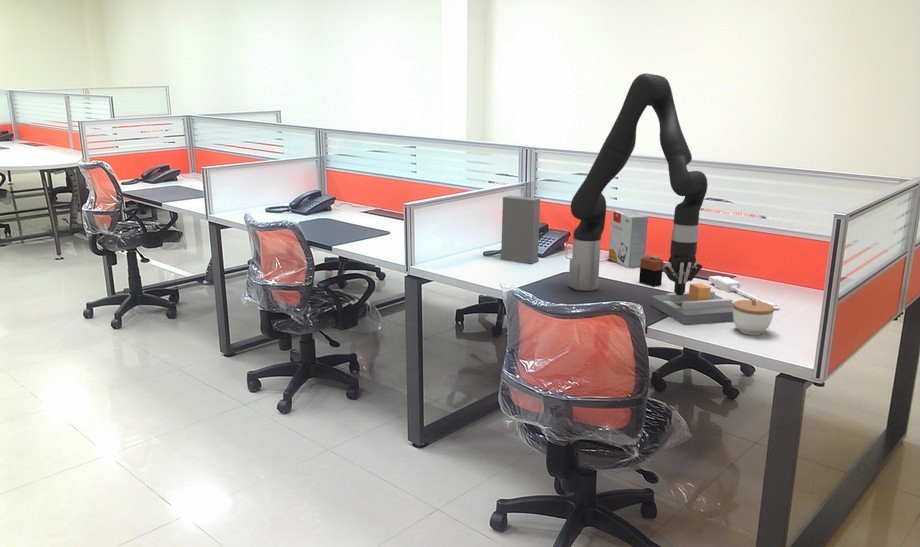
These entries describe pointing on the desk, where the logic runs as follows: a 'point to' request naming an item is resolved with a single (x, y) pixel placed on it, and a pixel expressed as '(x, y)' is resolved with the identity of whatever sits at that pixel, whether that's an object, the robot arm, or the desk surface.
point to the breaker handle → (699, 292)
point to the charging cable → (733, 287)
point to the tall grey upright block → (520, 229)
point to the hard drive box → (627, 237)
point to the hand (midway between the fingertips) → (679, 294)
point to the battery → (651, 270)
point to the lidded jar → (752, 316)
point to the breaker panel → (693, 312)
